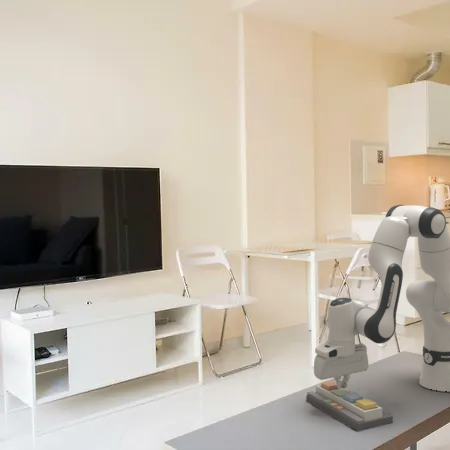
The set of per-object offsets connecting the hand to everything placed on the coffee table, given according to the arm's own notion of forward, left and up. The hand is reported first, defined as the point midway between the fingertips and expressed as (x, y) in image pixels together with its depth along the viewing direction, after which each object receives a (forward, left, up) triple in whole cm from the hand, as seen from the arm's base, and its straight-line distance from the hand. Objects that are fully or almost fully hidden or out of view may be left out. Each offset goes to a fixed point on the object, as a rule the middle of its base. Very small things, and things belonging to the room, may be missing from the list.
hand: (342, 387), depth 181 cm
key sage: (+1, 0, -4) cm, 4 cm away
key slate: (0, +7, -3) cm, 7 cm away
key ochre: (+1, +13, -3) cm, 13 cm away
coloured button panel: (+1, +3, -7) cm, 8 cm away
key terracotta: (0, -6, -3) cm, 7 cm away
